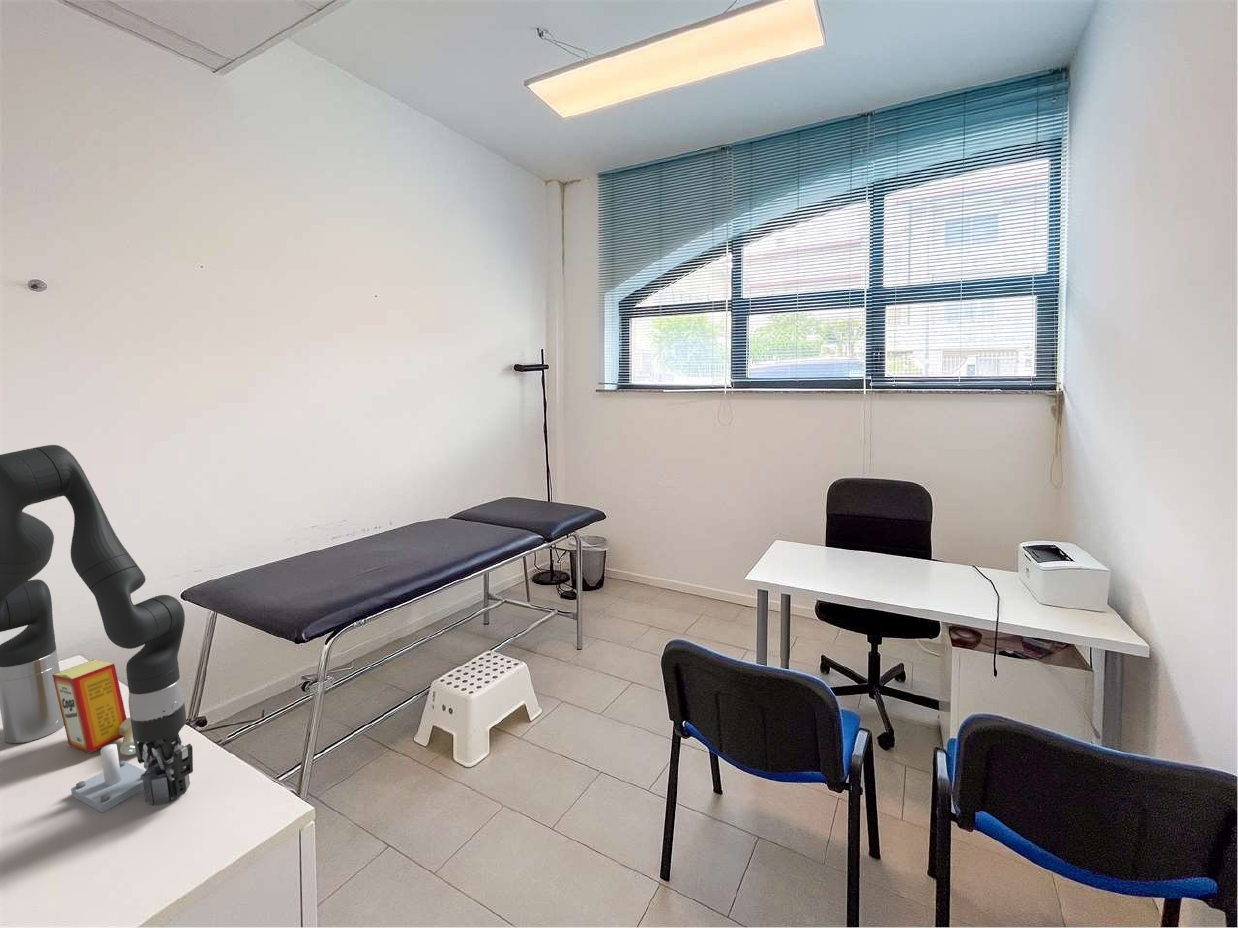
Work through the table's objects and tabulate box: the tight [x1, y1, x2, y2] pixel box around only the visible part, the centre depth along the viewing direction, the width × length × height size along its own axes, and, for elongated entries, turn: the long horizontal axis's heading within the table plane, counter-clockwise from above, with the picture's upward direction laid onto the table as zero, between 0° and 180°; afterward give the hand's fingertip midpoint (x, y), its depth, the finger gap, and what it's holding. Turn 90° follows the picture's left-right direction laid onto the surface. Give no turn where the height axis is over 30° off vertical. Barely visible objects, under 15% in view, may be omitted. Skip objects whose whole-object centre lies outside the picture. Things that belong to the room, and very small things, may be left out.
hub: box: [142, 758, 191, 806], centre depth 100 cm, size 6×6×5 cm
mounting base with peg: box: [70, 743, 146, 814], centre depth 100 cm, size 10×8×8 cm
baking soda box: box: [52, 659, 128, 754], centre depth 112 cm, size 10×6×16 cm
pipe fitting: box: [119, 716, 136, 756], centre depth 111 cm, size 8×4×7 cm
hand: (167, 788), depth 100 cm, fingers closed on hub, 6 cm apart
